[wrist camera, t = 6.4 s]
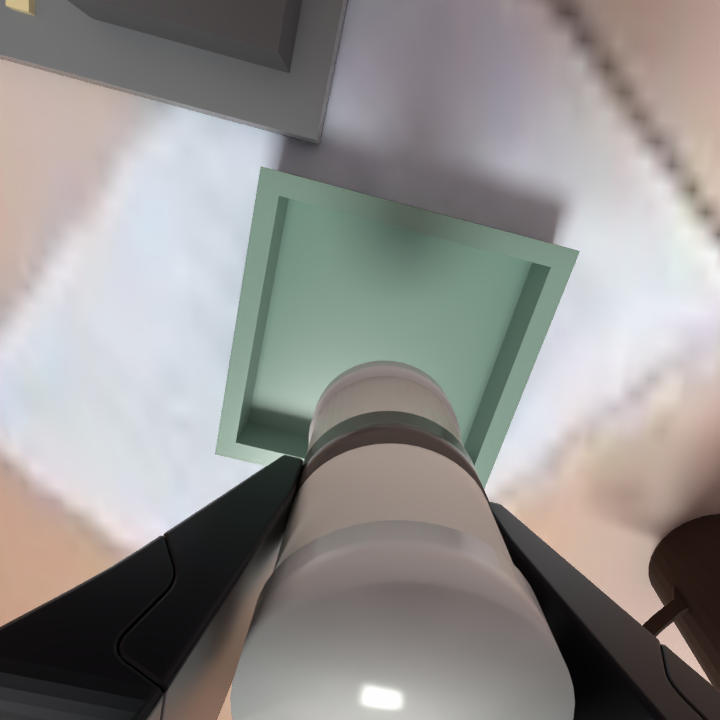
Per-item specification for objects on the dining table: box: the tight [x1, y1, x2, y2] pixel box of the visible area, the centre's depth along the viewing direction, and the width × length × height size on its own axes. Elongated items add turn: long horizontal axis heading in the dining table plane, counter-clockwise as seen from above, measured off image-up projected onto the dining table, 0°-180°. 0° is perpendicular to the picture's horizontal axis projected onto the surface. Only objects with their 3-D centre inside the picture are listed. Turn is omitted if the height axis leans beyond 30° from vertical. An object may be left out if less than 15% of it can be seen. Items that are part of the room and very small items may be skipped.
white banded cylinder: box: [230, 360, 575, 720], centre depth 8 cm, size 4×4×7 cm
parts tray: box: [215, 167, 580, 488], centre depth 18 cm, size 12×12×2 cm
